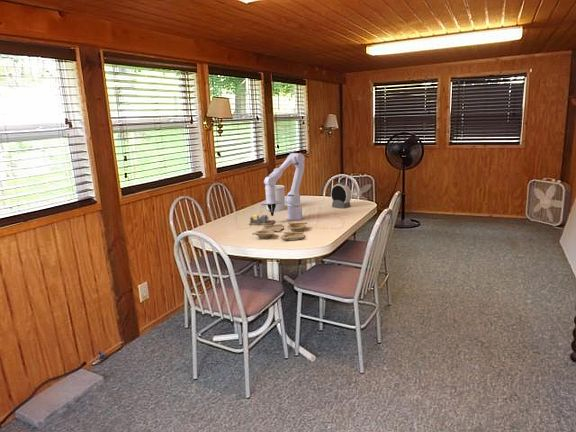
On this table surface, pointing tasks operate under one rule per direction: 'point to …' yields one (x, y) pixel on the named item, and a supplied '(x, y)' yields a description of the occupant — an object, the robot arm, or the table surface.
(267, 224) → the board
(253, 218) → the block
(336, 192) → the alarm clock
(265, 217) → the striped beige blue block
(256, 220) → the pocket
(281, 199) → the utensil holder
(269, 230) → the tableware set
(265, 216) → the block
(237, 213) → the table surface
